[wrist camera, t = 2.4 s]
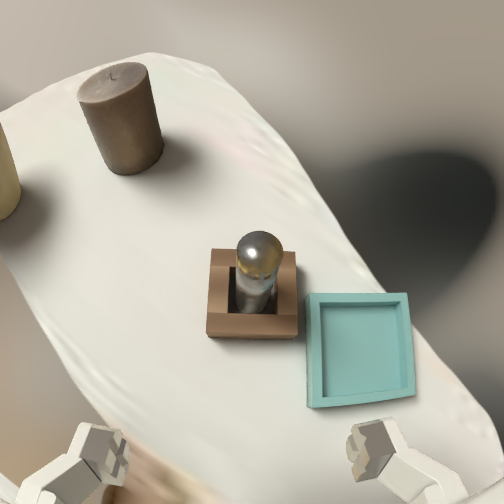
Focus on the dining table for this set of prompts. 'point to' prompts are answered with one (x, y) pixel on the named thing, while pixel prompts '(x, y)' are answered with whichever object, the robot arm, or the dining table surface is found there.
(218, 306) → the walnut collar
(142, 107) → the pillar candle
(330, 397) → the teal tray
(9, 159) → the plant pot
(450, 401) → the dining table surface
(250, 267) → the metal peg
